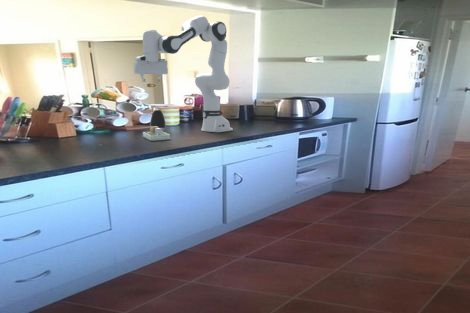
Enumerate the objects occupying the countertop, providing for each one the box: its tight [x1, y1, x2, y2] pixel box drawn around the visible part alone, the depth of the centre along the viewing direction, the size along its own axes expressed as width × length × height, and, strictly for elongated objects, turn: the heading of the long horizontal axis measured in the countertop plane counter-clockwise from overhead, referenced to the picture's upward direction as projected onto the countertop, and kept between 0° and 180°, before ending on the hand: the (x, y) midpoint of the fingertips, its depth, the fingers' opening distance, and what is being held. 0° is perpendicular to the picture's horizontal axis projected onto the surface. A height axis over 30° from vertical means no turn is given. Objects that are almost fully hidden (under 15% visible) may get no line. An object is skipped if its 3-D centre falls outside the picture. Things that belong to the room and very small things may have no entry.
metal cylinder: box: [155, 128, 162, 135], centre depth 216 cm, size 4×4×6 cm
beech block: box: [149, 126, 159, 136], centre depth 222 cm, size 4×4×6 cm
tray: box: [142, 131, 171, 142], centre depth 219 cm, size 12×14×3 cm
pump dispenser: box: [149, 108, 167, 132], centre depth 240 cm, size 10×10×15 cm
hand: (151, 81), depth 220 cm, fingers open, 8 cm apart
